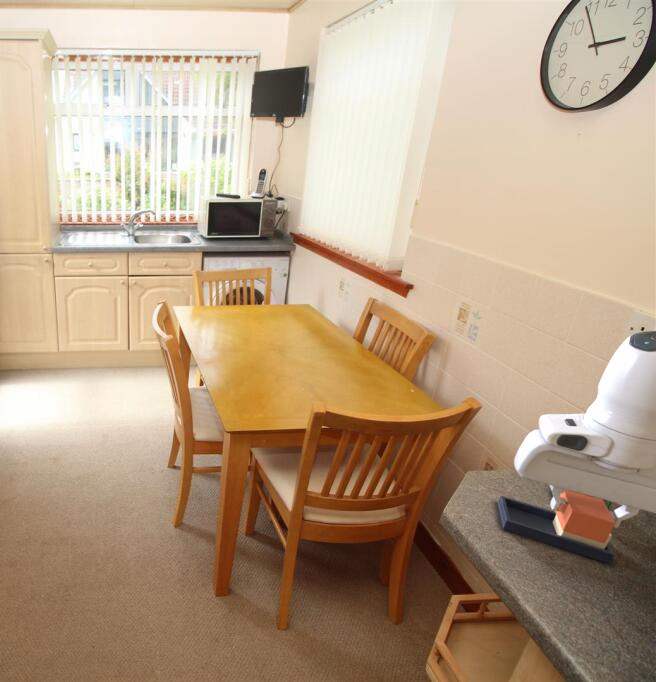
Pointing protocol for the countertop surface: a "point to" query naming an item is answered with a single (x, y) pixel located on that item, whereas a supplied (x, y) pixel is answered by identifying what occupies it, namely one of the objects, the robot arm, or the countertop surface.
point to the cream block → (578, 538)
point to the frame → (544, 528)
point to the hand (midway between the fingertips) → (582, 516)
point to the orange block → (586, 517)
